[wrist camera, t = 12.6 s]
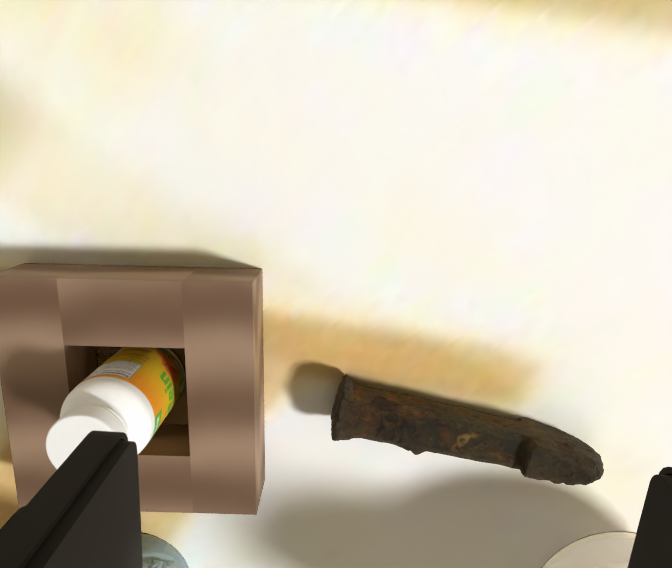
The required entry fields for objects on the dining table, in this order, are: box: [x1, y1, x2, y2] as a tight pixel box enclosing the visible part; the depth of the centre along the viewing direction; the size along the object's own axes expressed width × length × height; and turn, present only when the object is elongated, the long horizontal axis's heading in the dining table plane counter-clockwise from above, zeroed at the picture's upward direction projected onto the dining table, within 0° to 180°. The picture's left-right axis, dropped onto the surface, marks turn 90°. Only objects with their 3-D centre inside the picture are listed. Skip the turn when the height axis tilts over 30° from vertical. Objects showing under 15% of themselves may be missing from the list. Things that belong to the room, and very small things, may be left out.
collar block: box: [0, 263, 265, 515], centre depth 35 cm, size 16×16×4 cm
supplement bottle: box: [46, 347, 185, 469], centre depth 32 cm, size 5×5×10 cm
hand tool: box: [331, 374, 604, 485], centre depth 36 cm, size 19×4×5 cm, turn 75°
